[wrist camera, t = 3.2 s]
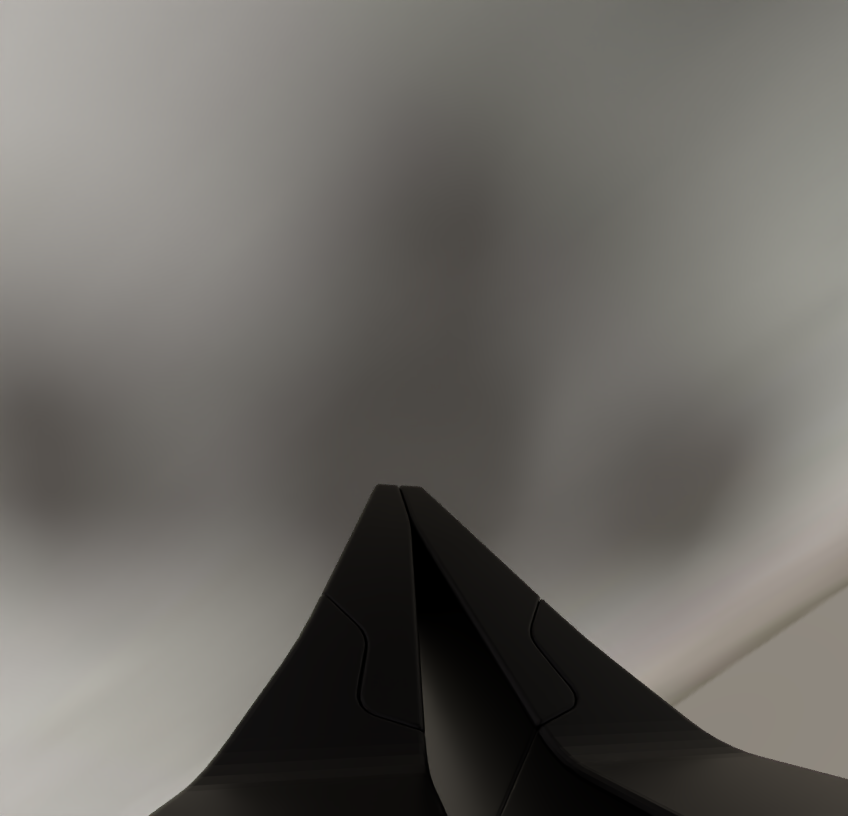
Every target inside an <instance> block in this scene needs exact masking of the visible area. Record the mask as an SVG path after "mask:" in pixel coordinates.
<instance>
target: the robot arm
mask: <svg viewBox="0 0 848 816" xmlns="http://www.w3.org/2000/svg"><path fill="white" fill-rule="evenodd" d="M539 600H540V597H539V595H538V594H536V593H535V592H534V591H533V590H532V589H531V588H530V587H529V586H528V585H527V584H526V583H525V582H523V581H522V580H521V579H520V578H519V577H518V576H517V575H516V574H515V573H514V572H513V571H512V570H511V569H509V568H508V567H507V566H506V565H505V564H504V563H503V562H502V561H501V560H500V559H499V558H498V557H496V556H495V555H494V554H493V553H492V552H491V551H490V550H489V549H488V548H487V547H486V546H485V545H484V544H482V543H481V542H480V541H479V540H478V539H477V538H476V537H475V536H474V535H473V534H472V533H471V532H470V531H468V530H467V529H466V528H465V527H464V526H463V525H462V524H461V523H460V522H459V521H458V520H457V519H455V518H454V517H453V516H452V515H451V514H450V513H449V512H448V511H447V510H446V509H445V508H444V507H443V506H441V505H440V504H439V503H438V502H437V501H436V500H435V499H434V498H433V497H432V496H431V495H430V494H428V493H427V492H426V491H425V490H424V489H423V488H422V487H418V486H400V487H398V486H396V485H387V484H377V485H376V486H375V488H374V490H373V492H372V494H371V496H370V498H369V500H368V502H367V504H366V506H365V508H364V510H363V512H362V514H361V516H360V518H359V520H358V522H357V524H356V526H355V528H354V530H353V532H352V534H351V536H350V538H349V540H348V542H347V544H346V546H345V548H344V550H343V552H342V554H341V556H340V558H339V560H338V562H337V564H336V566H335V569H334V571H333V573H332V575H331V577H330V579H329V581H328V583H327V585H326V587H325V589H324V591H323V593H322V596H321V597H320V598H319V600H318V602H317V604H316V606H315V608H314V610H313V612H312V614H311V616H310V618H309V620H308V621H307V623H306V625H305V627H304V629H303V631H302V632H301V634H300V636H299V638H298V639H297V641H296V642H295V644H294V645H293V647H292V649H291V650H290V652H289V653H288V655H287V656H286V658H285V659H284V661H283V662H282V664H281V665H280V667H279V668H278V670H277V671H276V672H275V674H274V675H273V677H272V678H271V679H270V681H269V682H268V684H267V685H266V687H265V688H264V689H263V691H262V692H261V694H260V695H259V696H258V698H257V699H256V701H255V702H254V703H253V705H252V706H251V708H250V709H249V710H248V712H247V713H246V715H245V716H244V717H243V719H242V720H241V722H240V723H239V724H238V726H237V727H236V729H235V730H234V732H233V733H232V734H231V736H230V737H229V739H228V740H227V741H226V743H225V744H224V745H223V747H222V748H221V749H220V751H219V752H218V753H217V755H216V756H215V757H214V758H213V760H212V761H211V762H210V763H209V764H208V766H207V767H206V768H205V769H204V770H203V771H202V773H201V774H200V775H199V776H198V777H197V778H196V779H195V780H194V781H193V782H192V783H191V784H190V785H189V786H188V787H186V788H185V789H184V790H183V791H182V792H180V793H179V794H178V795H176V796H175V797H174V798H172V799H171V800H170V801H168V802H167V803H165V804H164V805H163V806H161V807H160V808H158V809H157V810H156V811H154V812H153V813H152V814H150V815H149V816H848V779H845V778H841V777H838V776H834V775H830V774H826V773H822V772H818V771H815V770H811V769H807V768H803V767H799V766H796V765H792V764H788V763H784V762H780V761H776V760H773V759H769V758H765V757H761V756H758V755H754V754H751V753H748V752H745V751H743V750H740V749H738V748H735V747H732V746H731V745H729V744H727V743H725V742H722V741H720V740H719V739H717V738H715V737H713V736H712V735H710V734H709V733H706V732H705V731H704V730H702V729H701V728H699V727H698V726H697V725H695V724H694V723H692V722H691V721H690V720H689V719H687V718H686V717H685V716H683V715H682V714H681V713H680V712H678V711H677V710H676V709H675V708H673V707H672V706H671V705H670V704H668V703H667V702H666V701H664V700H663V699H662V698H661V697H659V696H658V695H657V694H656V693H654V692H653V691H652V690H650V689H649V688H648V687H647V686H645V685H644V684H643V683H642V682H640V681H639V680H638V679H636V678H635V677H634V676H633V675H631V674H630V673H629V672H628V671H626V670H625V669H624V668H622V667H621V666H620V665H619V664H617V663H616V662H615V661H614V660H612V659H611V658H610V657H609V656H607V655H606V654H605V653H604V652H603V651H601V650H600V649H599V648H598V647H596V646H595V645H594V644H593V643H592V642H590V641H589V640H588V639H587V638H585V637H584V636H583V635H582V634H581V633H580V632H579V631H577V630H576V629H575V628H574V627H573V626H572V625H571V624H570V623H568V622H567V621H566V620H565V619H564V618H563V617H562V616H561V615H559V614H558V613H557V612H556V611H555V610H554V609H553V608H552V607H551V606H550V605H549V604H547V603H546V602H545V601H544V600H542V599H541V600H540V601H539Z"/></svg>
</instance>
